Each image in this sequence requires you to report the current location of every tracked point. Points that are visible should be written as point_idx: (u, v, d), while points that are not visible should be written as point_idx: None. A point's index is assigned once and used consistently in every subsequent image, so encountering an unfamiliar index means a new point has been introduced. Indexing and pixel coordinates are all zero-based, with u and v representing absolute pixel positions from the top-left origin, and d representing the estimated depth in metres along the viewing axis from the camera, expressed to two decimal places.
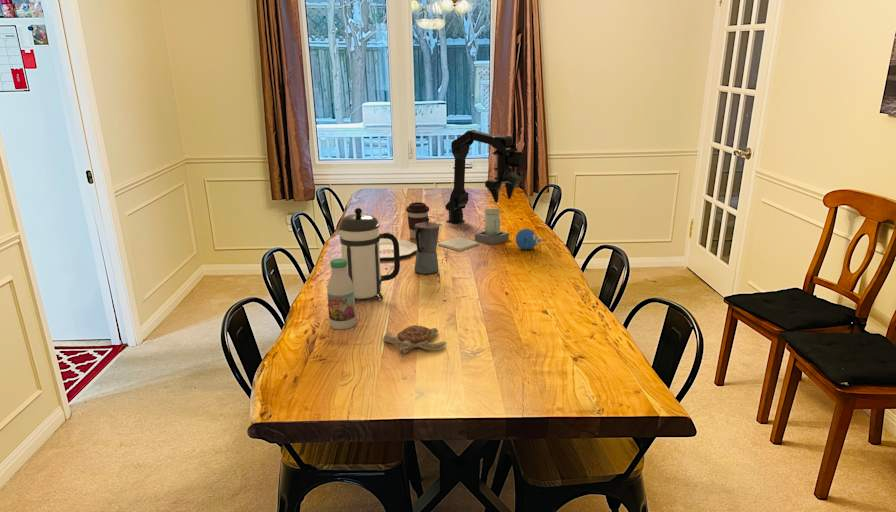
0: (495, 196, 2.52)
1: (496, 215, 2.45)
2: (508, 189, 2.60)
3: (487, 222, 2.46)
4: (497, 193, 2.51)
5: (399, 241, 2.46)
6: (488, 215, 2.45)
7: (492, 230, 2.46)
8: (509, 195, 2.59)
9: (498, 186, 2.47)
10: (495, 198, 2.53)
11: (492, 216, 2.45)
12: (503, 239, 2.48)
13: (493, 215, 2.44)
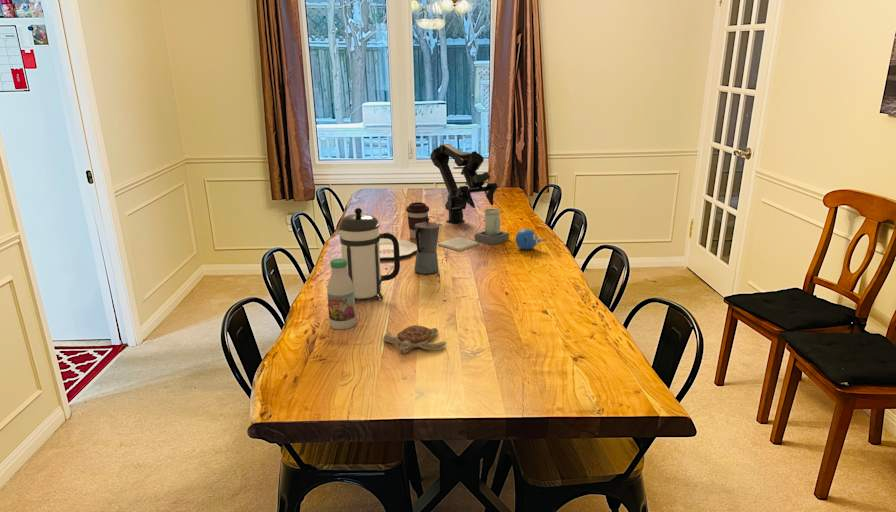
0: (470, 201, 2.52)
1: (496, 215, 2.45)
2: (489, 198, 2.58)
3: (487, 222, 2.46)
4: (469, 197, 2.51)
5: (399, 241, 2.46)
6: (488, 215, 2.45)
7: (492, 230, 2.46)
8: (491, 201, 2.55)
9: (465, 188, 2.51)
10: (471, 203, 2.52)
11: (492, 216, 2.44)
12: (503, 239, 2.48)
13: (493, 215, 2.44)
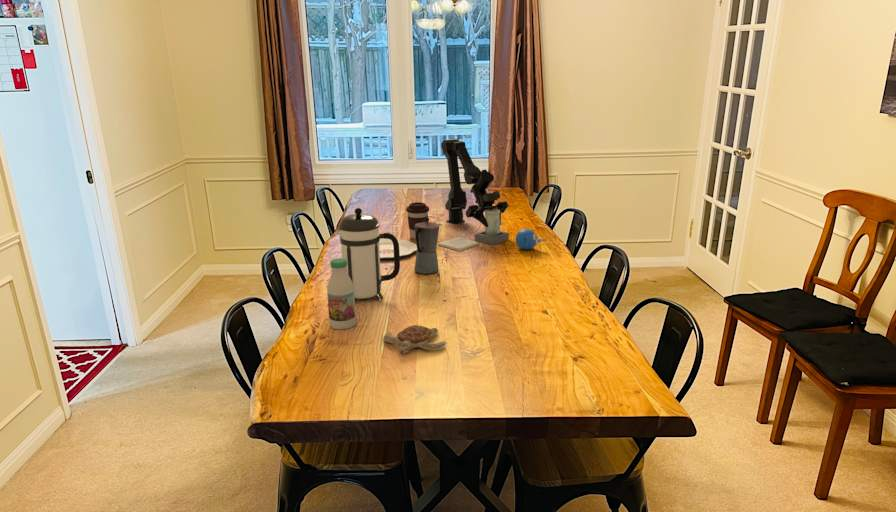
0: (483, 221, 2.47)
1: (496, 215, 2.45)
2: None
3: (487, 222, 2.46)
4: (482, 216, 2.46)
5: (399, 241, 2.46)
6: (488, 215, 2.45)
7: (492, 230, 2.46)
8: None
9: (474, 208, 2.45)
10: (484, 223, 2.47)
11: (492, 216, 2.44)
12: (503, 239, 2.48)
13: (493, 215, 2.44)
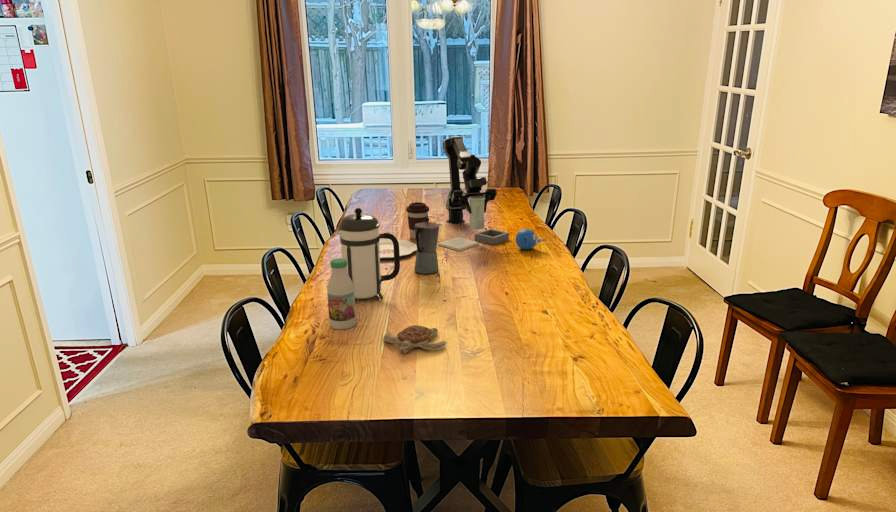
0: (466, 207, 2.41)
1: (479, 202, 2.38)
2: None
3: (471, 208, 2.41)
4: (466, 202, 2.41)
5: (399, 241, 2.46)
6: (471, 201, 2.39)
7: (475, 217, 2.40)
8: (484, 208, 2.42)
9: (458, 193, 2.40)
10: (467, 209, 2.41)
11: (475, 203, 2.38)
12: (503, 239, 2.48)
13: (476, 202, 2.38)
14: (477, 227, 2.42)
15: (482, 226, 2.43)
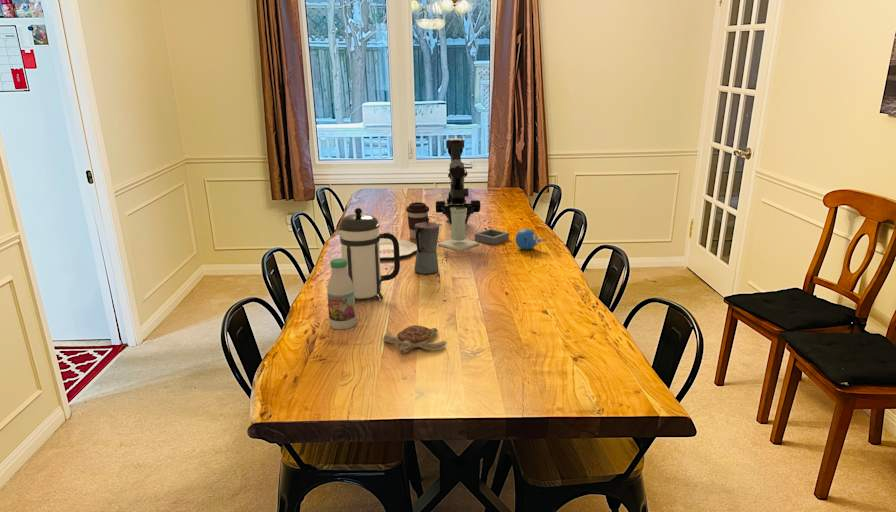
0: (448, 217, 2.41)
1: (459, 213, 2.37)
2: None
3: (451, 219, 2.40)
4: (448, 213, 2.41)
5: (399, 241, 2.46)
6: (452, 212, 2.39)
7: (455, 229, 2.39)
8: None
9: (440, 203, 2.41)
10: (448, 220, 2.41)
11: (455, 214, 2.37)
12: (503, 239, 2.48)
13: (455, 213, 2.37)
14: (457, 238, 2.41)
15: (462, 237, 2.41)
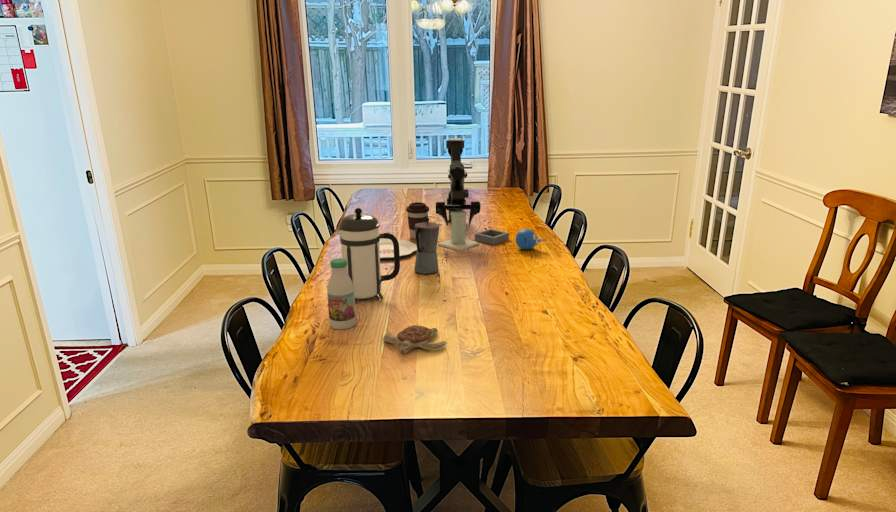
0: (444, 218, 2.41)
1: (459, 217, 2.38)
2: None
3: (451, 223, 2.41)
4: (444, 214, 2.41)
5: (399, 241, 2.46)
6: (452, 216, 2.39)
7: (455, 233, 2.40)
8: (469, 221, 2.41)
9: (440, 205, 2.41)
10: (445, 221, 2.41)
11: (455, 218, 2.38)
12: (503, 239, 2.48)
13: (456, 217, 2.38)
14: (457, 242, 2.41)
15: (462, 242, 2.42)
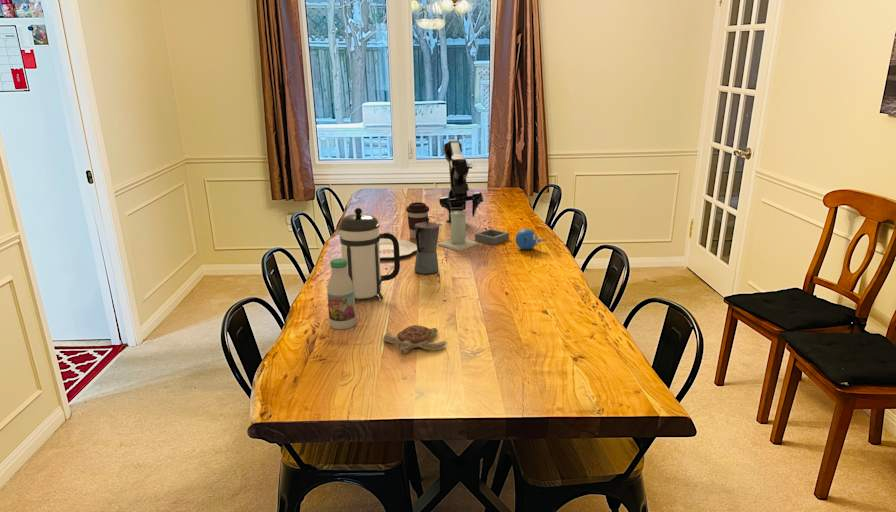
0: (449, 213, 2.53)
1: (459, 217, 2.38)
2: None
3: (451, 223, 2.41)
4: (448, 209, 2.53)
5: (399, 241, 2.46)
6: (452, 216, 2.39)
7: (455, 233, 2.40)
8: None
9: (443, 200, 2.52)
10: (450, 215, 2.53)
11: (455, 218, 2.38)
12: (503, 239, 2.48)
13: (456, 217, 2.38)
14: (457, 242, 2.41)
15: (462, 242, 2.42)
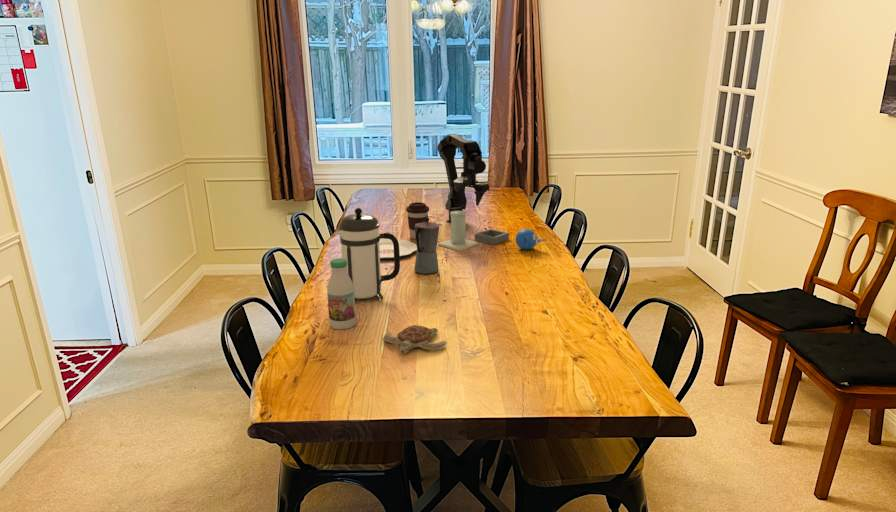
0: None
1: (459, 217, 2.38)
2: None
3: (451, 223, 2.41)
4: (458, 193, 2.64)
5: (399, 241, 2.46)
6: (452, 216, 2.39)
7: (455, 233, 2.40)
8: None
9: (452, 185, 2.63)
10: None
11: (455, 218, 2.38)
12: (503, 239, 2.48)
13: (456, 217, 2.38)
14: (457, 242, 2.41)
15: (462, 242, 2.42)
